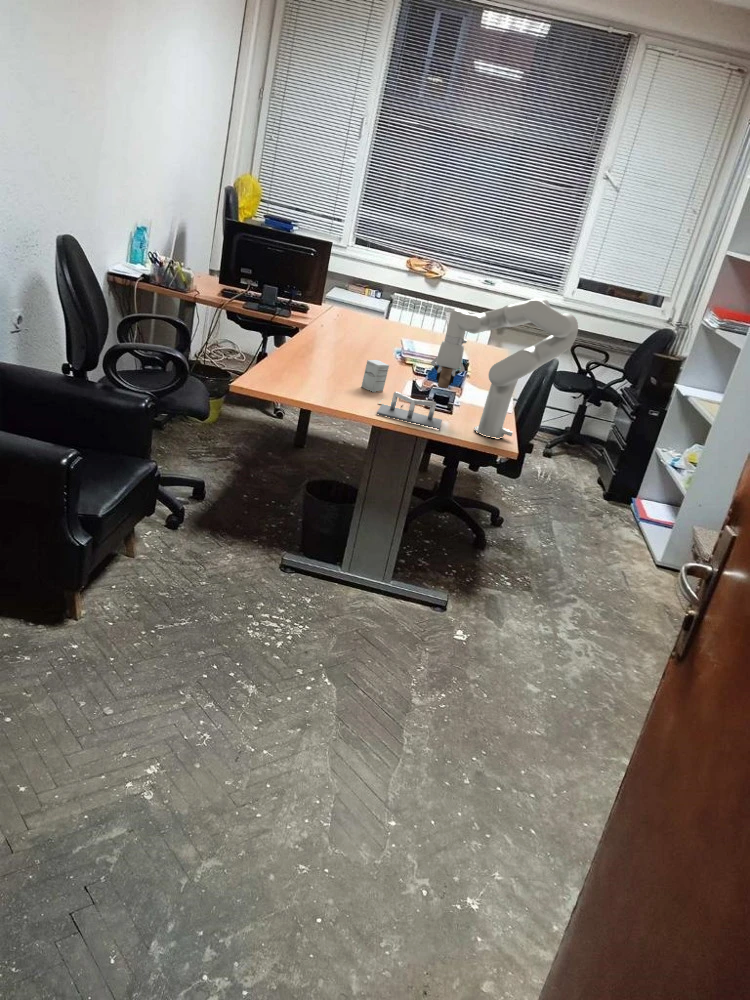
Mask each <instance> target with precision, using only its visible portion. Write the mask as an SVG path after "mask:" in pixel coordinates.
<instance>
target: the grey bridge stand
mask: <svg viewBox="0 0 750 1000" xmlns="http://www.w3.org/2000/svg"><path fill="white" fill-rule="evenodd" d="M398 399H400V400H403V401H405V402H407V403H409V404H410V405H409V408H408V411H409V412H408V416H407V417H408V418H412V416H413V412H414V411H415V407H416V405H417V406H418V405H420V406H427V407H428V406H430V408H429V411H428V415H427V416H428V418H427V419H428V420H432V419H433V418H434V414H435V410H436V407H437V402H436V401H434V400H426V399H417V398H413V397H410V396H408V395H406V394H404V393H401V392H399V391H394V392H393V394H392V398H391V400H392V402H391V407H390V410H395V406H396V402H398ZM414 413H415V412H414Z"/></svg>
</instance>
